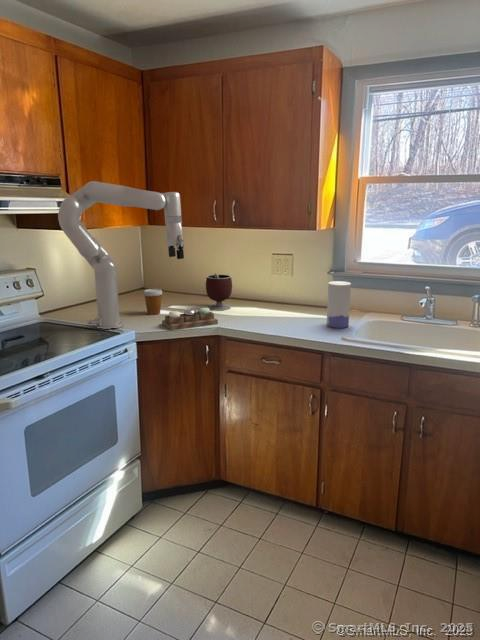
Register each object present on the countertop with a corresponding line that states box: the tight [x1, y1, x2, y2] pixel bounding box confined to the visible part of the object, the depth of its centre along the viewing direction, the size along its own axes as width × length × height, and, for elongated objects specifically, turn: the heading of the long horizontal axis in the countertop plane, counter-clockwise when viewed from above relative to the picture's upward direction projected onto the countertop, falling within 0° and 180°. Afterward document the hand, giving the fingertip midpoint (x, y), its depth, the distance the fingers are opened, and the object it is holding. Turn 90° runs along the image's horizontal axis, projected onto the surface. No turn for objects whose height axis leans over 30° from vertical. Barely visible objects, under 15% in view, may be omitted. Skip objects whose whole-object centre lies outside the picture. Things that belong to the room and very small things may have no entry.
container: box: [326, 280, 352, 329], centre depth 217 cm, size 10×10×20 cm
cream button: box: [168, 310, 181, 319], centre depth 217 cm, size 5×5×2 cm
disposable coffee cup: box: [142, 288, 163, 316], centre depth 240 cm, size 10×10×12 cm
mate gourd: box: [205, 273, 233, 312], centre depth 250 cm, size 16×14×20 cm
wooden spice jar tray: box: [161, 311, 219, 331], centre depth 221 cm, size 23×12×4 cm, turn 119°
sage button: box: [198, 307, 211, 315], centre depth 224 cm, size 5×5×2 cm
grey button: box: [183, 309, 196, 317], centre depth 220 cm, size 5×5×2 cm
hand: (176, 257), depth 220 cm, fingers open, 9 cm apart
